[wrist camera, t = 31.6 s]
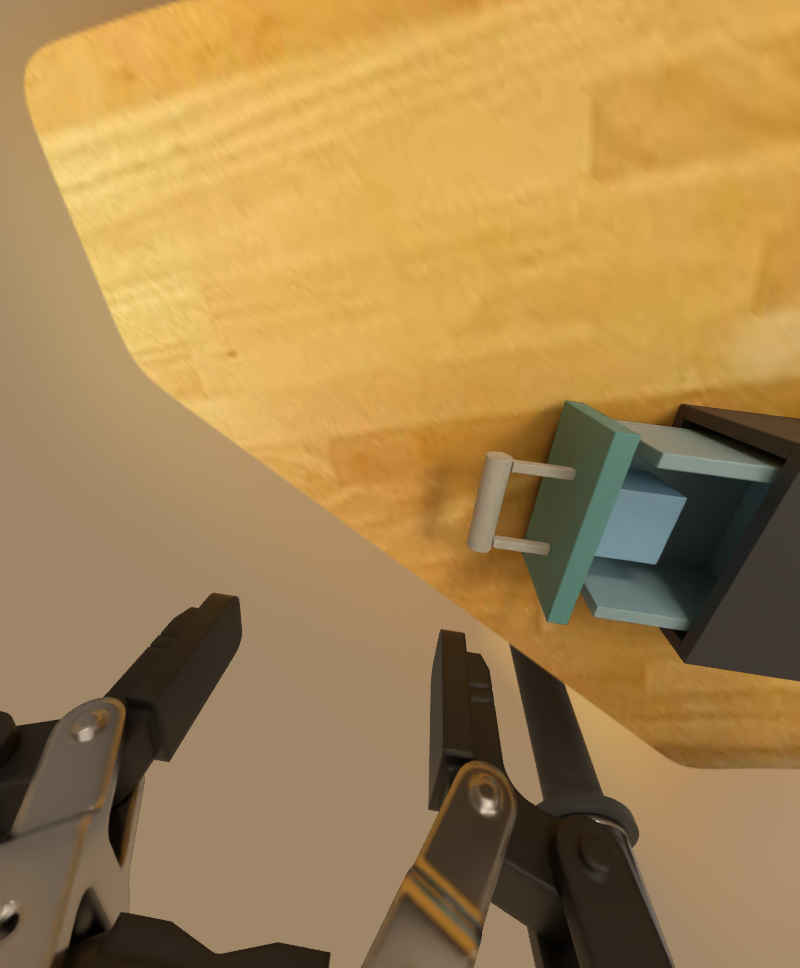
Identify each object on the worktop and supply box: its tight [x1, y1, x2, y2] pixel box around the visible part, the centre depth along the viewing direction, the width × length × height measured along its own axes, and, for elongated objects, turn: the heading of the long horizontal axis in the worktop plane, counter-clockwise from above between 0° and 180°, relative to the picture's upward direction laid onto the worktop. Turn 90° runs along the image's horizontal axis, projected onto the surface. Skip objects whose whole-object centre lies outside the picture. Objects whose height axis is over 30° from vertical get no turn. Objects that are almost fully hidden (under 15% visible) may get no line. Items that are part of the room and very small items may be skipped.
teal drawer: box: [467, 401, 787, 631], centre depth 22 cm, size 18×11×7 cm, turn 84°
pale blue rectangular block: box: [594, 468, 687, 565], centre depth 23 cm, size 4×4×4 cm
